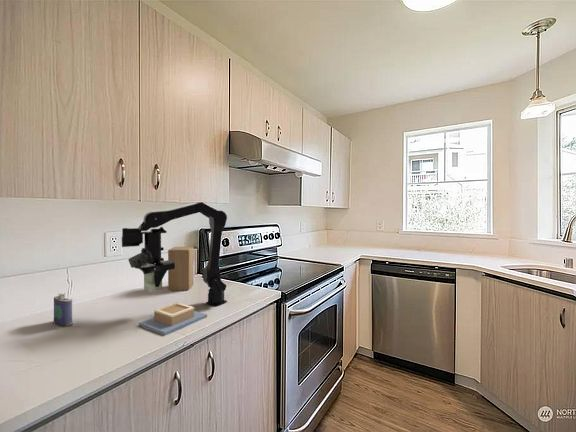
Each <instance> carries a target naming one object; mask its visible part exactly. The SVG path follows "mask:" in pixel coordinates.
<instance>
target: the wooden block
mask: <svg viewBox="0 0 576 432" xmlns="http://www.w3.org/2000/svg"><path fill="white" fill-rule="evenodd" d="M194 252H195V251H194V246H173V247H172V248H170V249H168V251H167V260H168V261H173V262H174V263H175V269H171V270H167V275H168V277H167V278H168V279H167V281H168V283H167V286H168V288H167V289H168V290H167V291H190V289H192V287H193V286H194V283H195V282H194V278H195V274H194V271H195V270H194V269H195V268H194V265H195V264H194V261H195V260H194V257H195V256H194V255H195V254H194Z"/></svg>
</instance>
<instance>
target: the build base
mask: <svg viewBox="0 0 576 432" xmlns="http://www.w3.org/2000/svg"><path fill="white" fill-rule="evenodd" d="M153 313H154V315H153V317H151V318H149V319H146V320H143V321H141V322H139V323H138V326H139V327H141V328H143V329H147V330H149V331H152V332H155V333H158V334H160V335H163V336H168V335H169V334H172V333H174V332H176V331H179V330H181V329H183V328H185V327H187V326H191V325H192V324H195V323H197V322H199V321H201V320H203V319H206V318H208V314H207V313H205V312H204V313H203V312H200V311H198V310H195V307H194V306H191V305H187V304H185V303H180V302H174V303H171V304H168V305H165V306H163V307H159V308H156V309H154V311H153Z"/></svg>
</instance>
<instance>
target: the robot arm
mask: <svg viewBox="0 0 576 432" xmlns="http://www.w3.org/2000/svg"><path fill="white" fill-rule="evenodd" d="M198 213H200V214H201V215H203V216H205V217H206V218H208V222H209V223H208V224H209V228H210V240H209V249H208V260H207V265H206V267H202V274H201V275H202V276H201V278H202V280H203V283H204V284H206V285H207V287H208V288H209V289H208V294H207V301H206V302H205V304H207V305H210V306H214V307H219V306H220V305H223V304H225V303H227V302H228V300H227V299H226V300H225V291H226V288H227V284H225V282H223V281H222V274H221V273H222V272H221V269H220V258H221V257H220V256H221V255H220V254H221V247H222V246H221V244H222V235H223V231H224V228H225V227H226V225H227V224H226V223H227V220H228V215H227V213H226V212H225V211H223V210H219V209H218V210H217V209H215V208H214V207H212V206H209V205H208V204H206V203H204V202H202V201H201V202H200V201H199V202H196V203H193V204H189V205H185V206H181V207H178V208H174V209H169V210H161V211H159V210H158V211H157V210H156V211H149V212H147V213H146V214H145V215H144V217H143V221H142V223H141V224H140V225H139V226H138V227H136V228H130V227H129V228H127V227H123V228H122V231H121V248H129V247H130V248H131V247H140V245H142V244H143V243H144V247H142V248H141V251H140V252H139V253H137V254H135V255H134V256H131V257H130V258H128V259H127V260H128V262H129V265H130V267H131V269H132V268H135V269H138V270H140V271H141V272H142V273H143V275H144V274H148V273H152V272H153V273H154V278H155V286H156V287H159V285H160V283H161V281H162V282H163V279H164V277H165V275H166V274H167V273H168V270H171V269H175V263H174V262H173V261H168V259H167V260H165V258H164V257H162V251H164V247H163V246H162V234H166V233H168V231H167V230H166V229H164V227H163V225H165V224H167V223H169V222H170V221H173V220H176V219H179V218H185V217H187V216H190V215H191V216H192V215H194V214H198ZM158 227H159V228H158ZM149 230H150V231H149ZM143 235H144V236H143Z"/></svg>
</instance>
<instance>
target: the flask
mask: <svg viewBox="0 0 576 432" xmlns="http://www.w3.org/2000/svg"><path fill="white" fill-rule="evenodd" d="M65 296H66V293H58V294H57V295H56V296H54V297H53V324H55V325H56V326H60V327H63V328H64V327H65V328H67V327H71V326H73V324H74V323H73V299H72V298H67V297H65Z"/></svg>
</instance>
